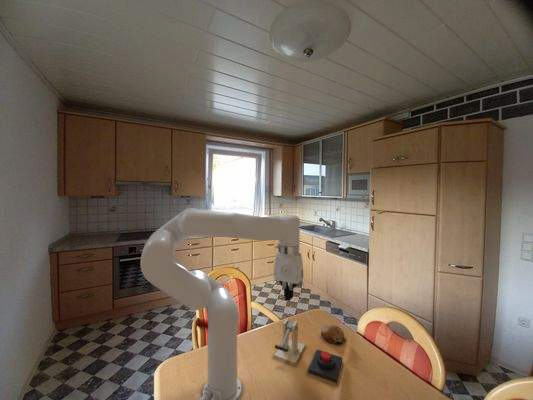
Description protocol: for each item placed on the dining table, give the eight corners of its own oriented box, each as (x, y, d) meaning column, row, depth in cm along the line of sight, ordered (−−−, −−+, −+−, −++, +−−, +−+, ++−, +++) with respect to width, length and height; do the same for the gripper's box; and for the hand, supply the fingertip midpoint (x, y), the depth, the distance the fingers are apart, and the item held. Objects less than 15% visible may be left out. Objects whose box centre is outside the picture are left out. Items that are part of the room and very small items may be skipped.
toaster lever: (287, 354, 85) (286, 349, 84) (275, 350, 87) (274, 345, 86) (297, 327, 95) (296, 323, 94) (286, 324, 97) (285, 320, 96)
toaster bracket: (295, 366, 87) (295, 333, 87) (274, 358, 91) (274, 326, 91) (305, 347, 98) (305, 318, 97) (285, 341, 102) (285, 312, 102)
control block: (336, 385, 78) (336, 374, 78) (308, 375, 83) (308, 364, 83) (342, 362, 89) (342, 352, 89) (316, 354, 93) (316, 345, 93)
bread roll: (342, 343, 106) (340, 323, 109) (347, 347, 97) (345, 325, 100) (320, 341, 107) (319, 322, 110) (323, 345, 98) (322, 324, 101)
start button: (329, 364, 83) (329, 359, 83) (319, 360, 85) (319, 356, 85) (331, 357, 87) (331, 353, 86) (322, 354, 88) (322, 350, 88)
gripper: (266, 249, 83) (265, 299, 84) (305, 254, 76) (305, 308, 77) (274, 245, 90) (274, 291, 90) (312, 249, 83) (311, 299, 84)
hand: (288, 299), depth 84 cm, fingers closed
